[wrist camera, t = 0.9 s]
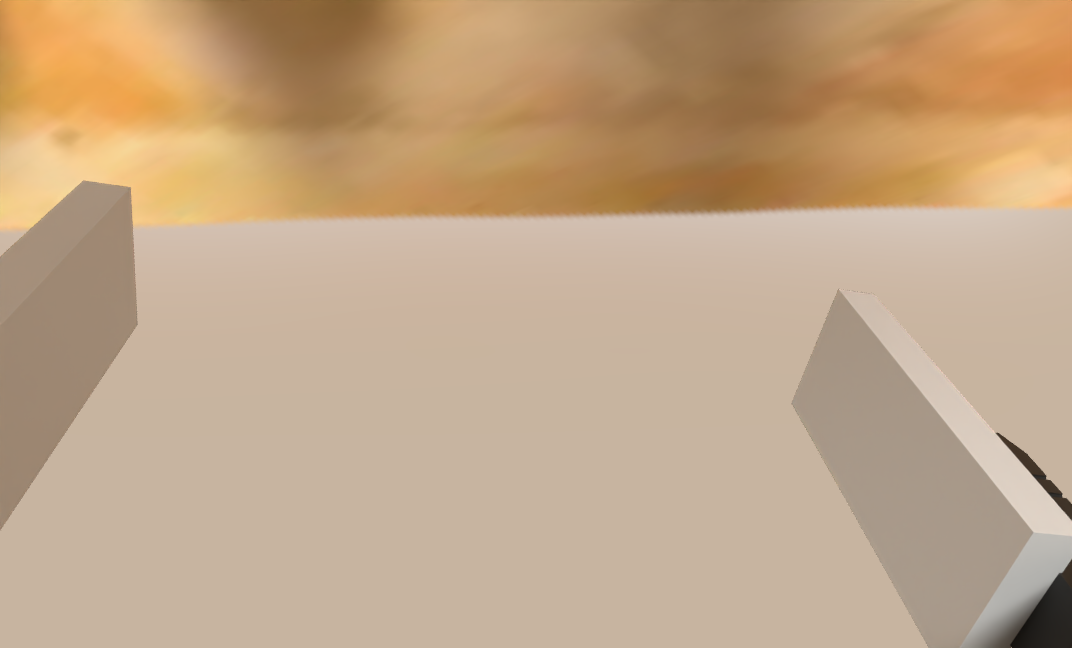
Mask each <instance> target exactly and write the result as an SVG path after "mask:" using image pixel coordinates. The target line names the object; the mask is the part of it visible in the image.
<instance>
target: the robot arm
mask: <svg viewBox="0 0 1072 648" xmlns="http://www.w3.org/2000/svg"><path fill="white" fill-rule="evenodd" d="M136 305H137V304H136V284H135V264H134V244H133V224H132V204H131V187H124V186H117V185H110V184H103V183H96V182H89V181H82V182H81V183H80V184H79V185H78V186H77V187H76V188H75V189H74V190H73V191H71V192H70V193H69V194H68V195H67V196H66V197H65V198H64V199H63V200H62V201H60V202H59V203H58V204H57V205H56V206H55V207H54V208H53V209H52V210H51V211H50V212H48V213H47V214H46V215H45V216H44V217H43V218H42V219H41V220H40V221H39V222H38V223H36V224H35V225H34V226H33V227H32V228H31V229H30V230H29V231H28V232H27V233H26V234H24V235H23V236H22V237H21V238H20V239H19V240H18V241H17V242H16V243H15V244H14V245H12V246H11V247H10V248H9V249H8V250H7V251H6V252H5V253H4V254H3V255H2V256H0V530H1V528H2V527H3V525H4V524H5V522H6V521H7V520H8V518H9V517H10V515H11V513H12V512H13V511H14V509H15V507H16V506H17V504H18V503H19V502H20V500H21V499H22V497H23V496H24V494H25V492H26V491H27V489H28V488H29V486H30V485H31V483H32V482H33V481H34V479H35V478H36V476H37V475H38V473H39V472H40V470H41V469H42V467H43V466H44V464H45V462H46V461H47V460H48V458H49V456H50V455H51V454H52V452H53V451H54V449H55V448H56V446H57V444H58V443H59V442H60V440H61V439H62V437H63V436H64V434H65V433H66V431H67V430H68V428H69V427H70V425H71V424H72V422H73V421H74V419H75V418H76V416H77V414H78V413H79V412H80V410H81V409H82V407H83V405H84V404H85V402H86V401H87V399H88V398H89V397H90V395H91V394H92V392H93V391H94V389H95V388H96V386H97V385H98V383H99V381H100V380H101V379H102V377H103V376H104V374H105V372H106V371H107V369H108V368H109V366H110V365H111V364H112V362H113V361H114V359H115V357H116V356H117V355H118V353H119V352H120V350H121V348H122V347H123V345H124V344H125V343H126V341H127V339H128V338H129V337H130V335H131V334H132V332H133V331H134V329H135V328H136V326H137V306H136ZM792 405H793V407H794V408H795V410H796V412H797V414H798V415H799V417H800V419H801V421H802V423H803V425H804V426H805V428H806V430H807V432H808V433H809V435H810V437H811V439H812V441H813V442H814V444H815V446H816V448H817V449H818V451H819V453H820V455H821V456H822V458H823V460H824V462H825V464H826V465H827V467H828V469H829V471H830V472H831V474H832V476H833V478H834V480H835V481H836V483H837V485H838V487H839V489H840V490H841V492H842V494H843V496H844V497H845V499H846V501H847V503H848V505H849V506H850V508H851V510H852V512H853V514H854V515H855V517H856V519H857V520H858V523H859V524H860V526H861V528H862V530H863V531H864V533H865V535H866V537H867V539H868V540H869V542H870V544H871V546H872V547H873V549H874V551H875V553H876V555H877V556H878V558H879V560H880V562H881V563H882V565H883V567H884V569H885V571H886V572H887V574H888V576H889V578H890V580H891V581H892V583H893V585H894V587H895V588H896V590H897V592H898V594H899V596H900V597H901V599H902V601H903V603H904V604H905V606H906V608H907V610H908V611H909V613H910V615H911V617H912V619H913V621H914V622H915V624H916V626H917V628H918V629H919V631H920V633H921V635H922V637H923V638H924V640H925V642H926V644H927V645H928V647H929V648H1011V647H1012V648H1072V504H1071V503H1070V502H1069V501H1068V499H1066V498H1062V493H1061V491H1060V490H1059V489H1058V488H1057V487H1056V486H1055V485H1054V484H1053V483H1052V481H1051V480H1046V475H1045V474H1044V472H1043V471H1042V470H1041V469H1040V468H1039V467H1038V466H1037V465H1036V463H1035V462H1034V461H1033V460H1032V459H1031V458H1030V457H1029V456H1028V454H1026V453H1025V452H1024V451H1022V450H1021V449H1020V448H1018V447H1017V446H1016V445H1014V444H1013V443H1011V442H1010V441H1009V440H1007V439H1006V438H1005V437H1003V436H1002V435H1000V434H999V433H995V432H994V431H993V430H992V429H991V427H990V426H989V425H988V424H987V423H986V422H985V421H984V420H983V418H982V417H981V416H980V415H979V414H978V413H977V411H976V410H975V409H974V408H973V407H972V406H971V404H970V403H969V402H968V401H967V400H966V399H965V398H964V396H963V395H962V394H961V393H960V392H959V391H958V390H957V388H956V387H955V386H954V385H953V384H952V383H951V381H950V380H949V379H948V378H947V377H946V376H945V375H944V373H942V371H941V370H940V369H939V368H938V367H937V365H936V364H935V363H934V362H933V361H932V360H931V359H930V357H929V356H928V355H927V354H926V353H925V352H924V350H923V349H922V348H921V347H920V346H919V345H918V344H917V342H916V341H915V340H914V339H913V338H912V337H911V336H910V334H909V333H908V332H907V331H906V330H905V329H904V327H903V326H902V325H901V324H900V323H899V322H898V321H897V320H896V318H895V317H894V316H893V315H892V314H891V313H890V311H889V310H888V309H887V308H886V307H885V306H884V305H883V303H882V302H881V301H880V300H879V299H878V298H877V297H876V295H875V294H870V293H863V292H855V291H849V290H842V289H838V291H837V294H836V296H835V299H834V301H833V303H832V306H831V308H830V311H829V313H828V316H827V318H826V321H825V323H824V325H823V328H822V330H821V333H820V335H819V338H818V340H817V342H816V345H815V347H814V350H813V352H812V355H811V357H810V359H809V362H808V364H807V367H806V369H805V372H804V374H803V376H802V379H801V381H800V384H799V386H798V389H797V391H796V394H795V396H794V399H793V401H792Z"/></svg>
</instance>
